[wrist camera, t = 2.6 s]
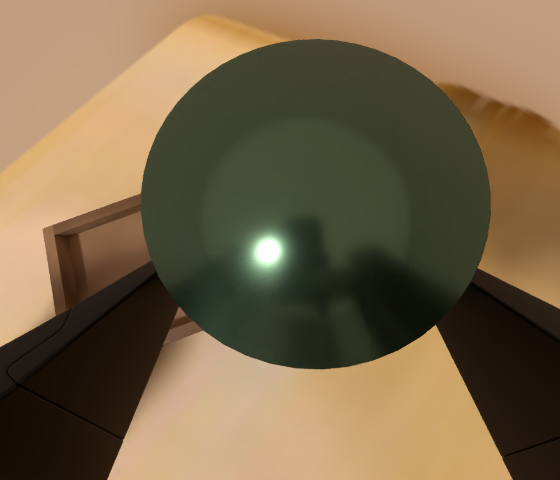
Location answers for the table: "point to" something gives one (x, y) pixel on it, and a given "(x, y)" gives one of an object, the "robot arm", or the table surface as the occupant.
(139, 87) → the table surface
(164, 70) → the table surface
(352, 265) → the tea canister
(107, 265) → the walnut tray
